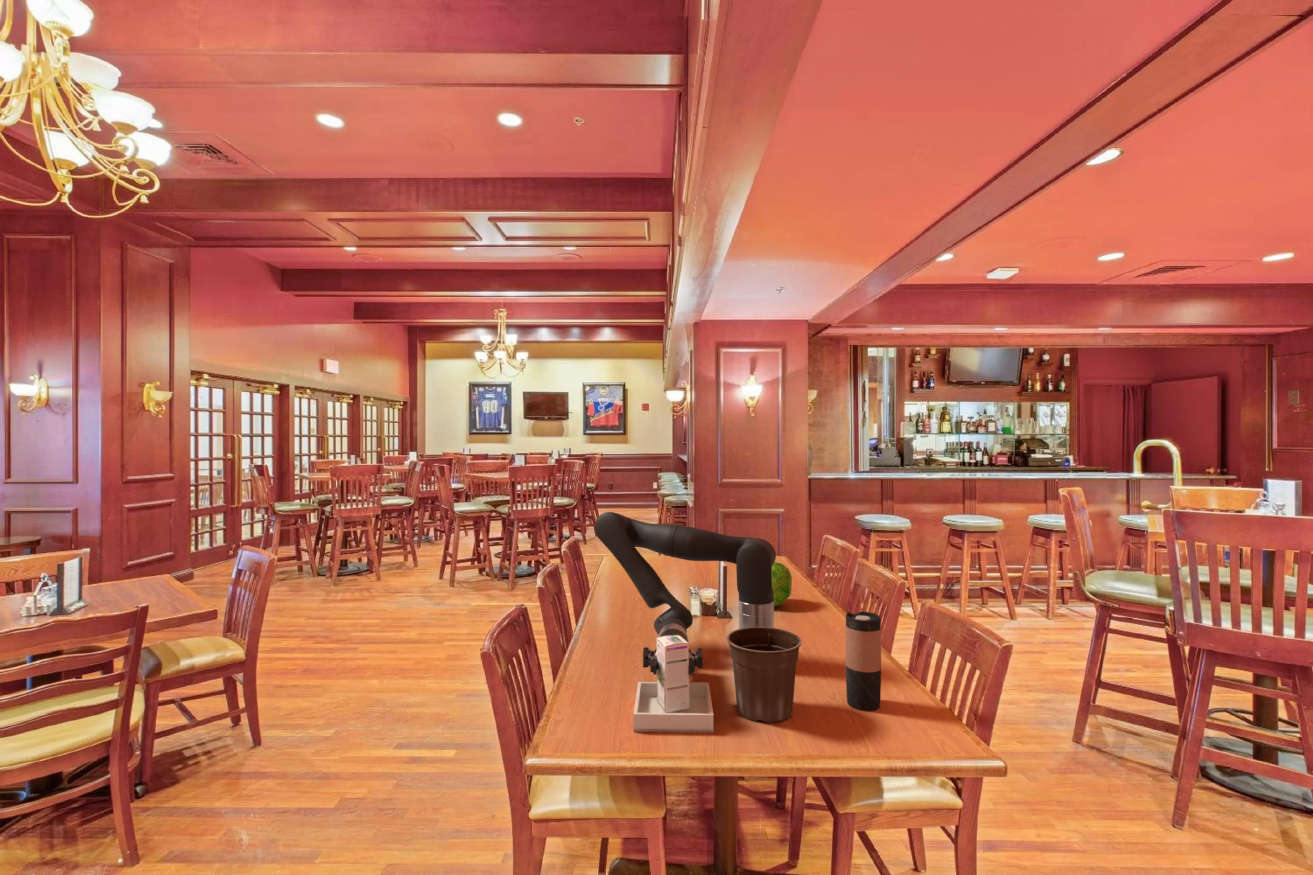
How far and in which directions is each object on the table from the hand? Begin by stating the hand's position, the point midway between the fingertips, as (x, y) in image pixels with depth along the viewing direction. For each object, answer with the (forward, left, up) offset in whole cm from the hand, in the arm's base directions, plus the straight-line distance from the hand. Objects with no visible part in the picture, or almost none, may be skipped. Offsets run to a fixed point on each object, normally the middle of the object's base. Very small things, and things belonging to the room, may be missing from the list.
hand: (672, 670), depth 128 cm
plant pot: (-20, -4, -10) cm, 23 cm away
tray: (0, -2, -10) cm, 10 cm away
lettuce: (-34, -89, -11) cm, 96 cm away
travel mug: (-43, -8, -10) cm, 45 cm away
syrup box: (0, -2, -9) cm, 9 cm away
